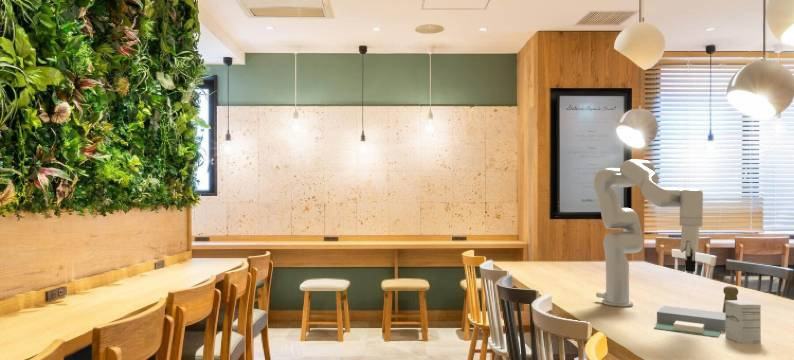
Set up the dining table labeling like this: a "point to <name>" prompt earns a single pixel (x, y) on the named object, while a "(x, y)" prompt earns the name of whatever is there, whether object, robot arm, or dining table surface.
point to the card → (689, 326)
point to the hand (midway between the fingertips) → (690, 271)
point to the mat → (671, 328)
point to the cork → (729, 294)
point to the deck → (692, 317)
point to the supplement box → (743, 321)
